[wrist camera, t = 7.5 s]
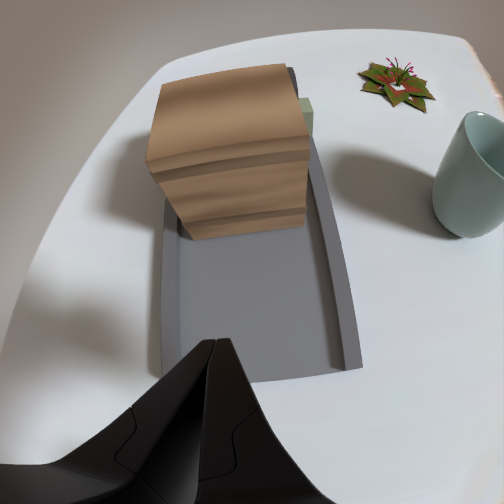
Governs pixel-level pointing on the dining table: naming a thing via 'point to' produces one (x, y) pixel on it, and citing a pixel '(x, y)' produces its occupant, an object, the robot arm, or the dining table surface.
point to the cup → (472, 178)
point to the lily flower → (397, 84)
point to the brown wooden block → (231, 151)
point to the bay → (263, 290)
